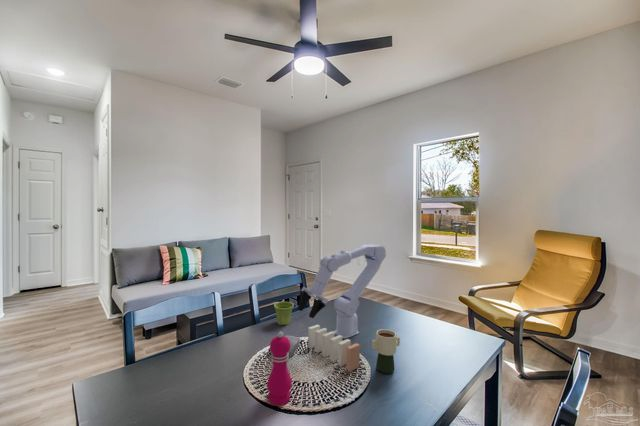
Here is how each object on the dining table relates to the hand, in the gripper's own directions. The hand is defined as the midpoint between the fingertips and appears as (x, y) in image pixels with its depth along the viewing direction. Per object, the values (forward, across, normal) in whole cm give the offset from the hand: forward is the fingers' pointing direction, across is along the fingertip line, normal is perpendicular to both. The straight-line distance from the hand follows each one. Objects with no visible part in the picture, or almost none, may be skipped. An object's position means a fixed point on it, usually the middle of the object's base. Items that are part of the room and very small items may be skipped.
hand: (305, 313), depth 121 cm
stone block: (+16, 0, -1) cm, 16 cm away
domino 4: (+8, +17, +8) cm, 21 cm away
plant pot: (+10, -22, +12) cm, 27 cm away
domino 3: (+9, +13, +8) cm, 18 cm away
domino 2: (+9, +9, +8) cm, 15 cm away
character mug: (+3, +34, +14) cm, 36 cm away
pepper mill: (+22, +23, -18) cm, 37 cm away
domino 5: (+8, +22, +7) cm, 24 cm away
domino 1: (+10, +5, +8) cm, 13 cm away
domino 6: (+8, +26, +7) cm, 28 cm away
